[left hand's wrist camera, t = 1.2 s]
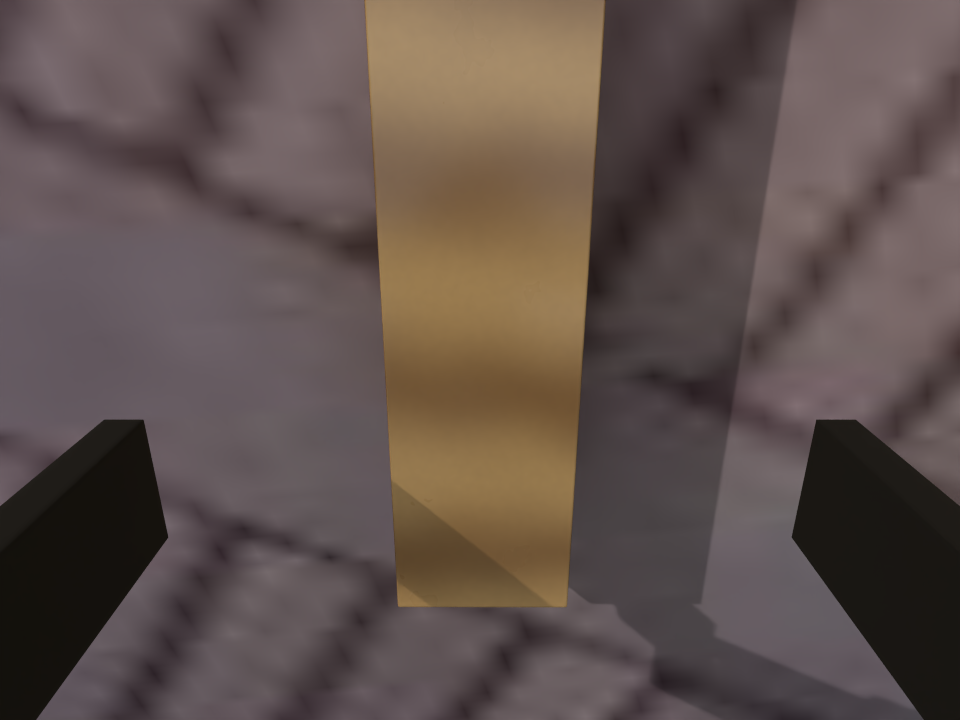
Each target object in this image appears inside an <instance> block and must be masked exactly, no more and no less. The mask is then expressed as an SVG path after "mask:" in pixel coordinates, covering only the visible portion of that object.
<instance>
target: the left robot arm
mask: <svg viewBox="0 0 960 720" xmlns="http://www.w3.org/2000/svg"><path fill="white" fill-rule="evenodd" d="M167 538H168V534H167V529H166V524H165V520H164V515H163V510H162V505H161V500H160V496H159V491H158V486H157V481H156V477H155V472H154V467H153V462H152V458H151V453H150V448H149V443H148V439H147V434H146V429H145V424H144V420H103V421H102V422H101V423H100V424H99V425H97V426H96V427H95V428H94V429H93V430H91V431H90V432H89V433H88V434H87V435H85V436H84V437H83V438H82V439H81V440H79V441H78V442H77V443H76V444H75V445H73V446H72V447H71V448H70V449H69V450H67V451H66V452H65V453H64V454H62V455H61V456H60V457H59V458H58V459H56V460H55V461H54V462H53V463H52V464H50V465H49V466H48V467H47V468H46V469H44V470H43V471H42V472H41V473H40V474H38V475H37V476H36V477H35V478H34V479H32V480H31V481H30V482H29V483H28V484H26V485H25V486H24V487H23V488H22V489H20V490H19V491H18V492H17V493H16V494H14V495H13V496H12V497H11V498H10V499H8V500H7V501H6V502H5V503H4V504H2V505H1V506H0V720H36V719H37V718H38V716H39V715H40V714H41V712H42V711H43V709H44V708H45V707H46V705H47V704H48V703H49V701H50V700H51V698H52V697H53V696H54V694H55V693H56V692H57V690H58V689H59V687H60V686H61V685H62V683H63V682H64V681H65V679H66V678H67V676H68V675H69V674H70V672H71V671H72V669H73V668H74V667H75V665H76V664H77V663H78V661H79V660H80V658H81V657H82V656H83V654H84V653H85V652H86V650H87V649H88V647H89V646H90V645H91V643H92V642H93V641H94V639H95V638H96V636H97V635H98V634H99V632H100V631H101V629H102V628H103V627H104V625H105V624H106V623H107V621H108V620H109V618H110V617H111V616H112V614H113V613H114V612H115V610H116V609H117V607H118V606H119V605H120V603H121V602H122V601H123V599H124V598H125V596H126V595H127V594H128V592H129V591H130V589H131V588H132V587H133V585H134V584H135V583H136V581H137V580H138V578H139V577H140V576H141V574H142V573H143V572H144V570H145V569H146V567H147V566H148V565H149V563H150V562H151V561H152V559H153V558H154V556H155V555H156V554H157V552H158V551H159V549H160V548H161V547H162V545H163V544H164V543H165V541H166V540H167ZM792 538H793V540H794V541H795V543H796V544H797V545H798V547H799V548H800V549H801V551H802V552H803V554H804V555H805V556H806V558H807V559H808V561H809V562H810V563H811V565H812V566H813V567H814V569H815V570H816V572H817V573H818V574H819V576H820V577H821V578H822V580H823V581H824V583H825V584H826V585H827V587H828V588H829V589H830V591H831V592H832V594H833V595H834V596H835V598H836V599H837V601H838V602H839V603H840V605H841V606H842V607H843V609H844V610H845V612H846V613H847V614H848V616H849V617H850V618H851V620H852V621H853V623H854V624H855V625H856V627H857V628H858V629H859V631H860V632H861V634H862V635H863V636H864V638H865V639H866V641H867V642H868V643H869V645H870V646H871V647H872V649H873V650H874V652H875V653H876V654H877V656H878V657H879V658H880V660H881V661H882V663H883V664H884V665H885V667H886V668H887V669H888V671H889V672H890V674H891V675H892V676H893V678H894V679H895V681H896V682H897V683H898V685H899V686H900V687H901V689H902V690H903V692H904V693H905V694H906V696H907V697H908V698H909V700H910V701H911V703H912V704H913V705H914V707H915V708H916V709H917V711H918V712H919V714H920V715H921V716H922V718H923V719H924V720H960V506H959V505H958V504H956V503H955V502H954V501H953V500H952V499H950V498H949V497H948V496H947V495H946V494H944V493H943V492H942V491H941V490H940V489H938V488H937V487H936V486H935V485H934V484H932V483H931V482H930V481H929V480H928V479H926V478H925V477H924V476H923V475H922V474H920V473H919V472H918V471H917V470H916V469H914V468H913V467H912V466H911V465H910V464H908V463H907V462H906V461H905V460H904V459H902V458H901V457H900V456H899V455H898V454H896V453H895V452H894V451H893V450H891V449H890V448H889V447H888V446H887V445H885V444H884V443H883V442H882V441H881V440H879V439H878V438H877V437H876V436H875V435H873V434H872V433H871V432H870V431H869V430H867V429H866V428H865V427H864V426H863V425H861V424H860V423H859V422H858V421H857V420H816V424H815V429H814V434H813V439H812V443H811V448H810V453H809V458H808V462H807V467H806V472H805V477H804V481H803V486H802V491H801V496H800V500H799V505H798V510H797V515H796V520H795V524H794V529H793V534H792Z"/></svg>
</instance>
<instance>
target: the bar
mask: <svg viewBox="0 0 960 720" xmlns="http://www.w3.org/2000/svg"><path fill="white" fill-rule="evenodd" d="M364 1H365V19H366V37H367V55H368V73H369V91H370V109H371V127H372V145H373V163H374V181H375V199H376V217H377V235H378V253H379V271H380V289H381V308H382V326H383V344H384V362H385V380H386V398H387V416H388V434H389V452H390V470H391V488H392V506H393V524H394V542H395V560H396V578H397V596H398V606H399V607H567V597H568V582H569V566H570V551H571V535H572V519H573V504H574V488H575V473H576V457H577V442H578V426H579V410H580V395H581V379H582V364H583V348H584V332H585V317H586V301H587V286H588V270H589V255H590V239H591V223H592V208H593V192H594V177H595V161H596V145H597V130H598V114H599V99H600V83H601V68H602V52H603V36H604V21H605V5H606V0H364Z"/></svg>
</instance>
